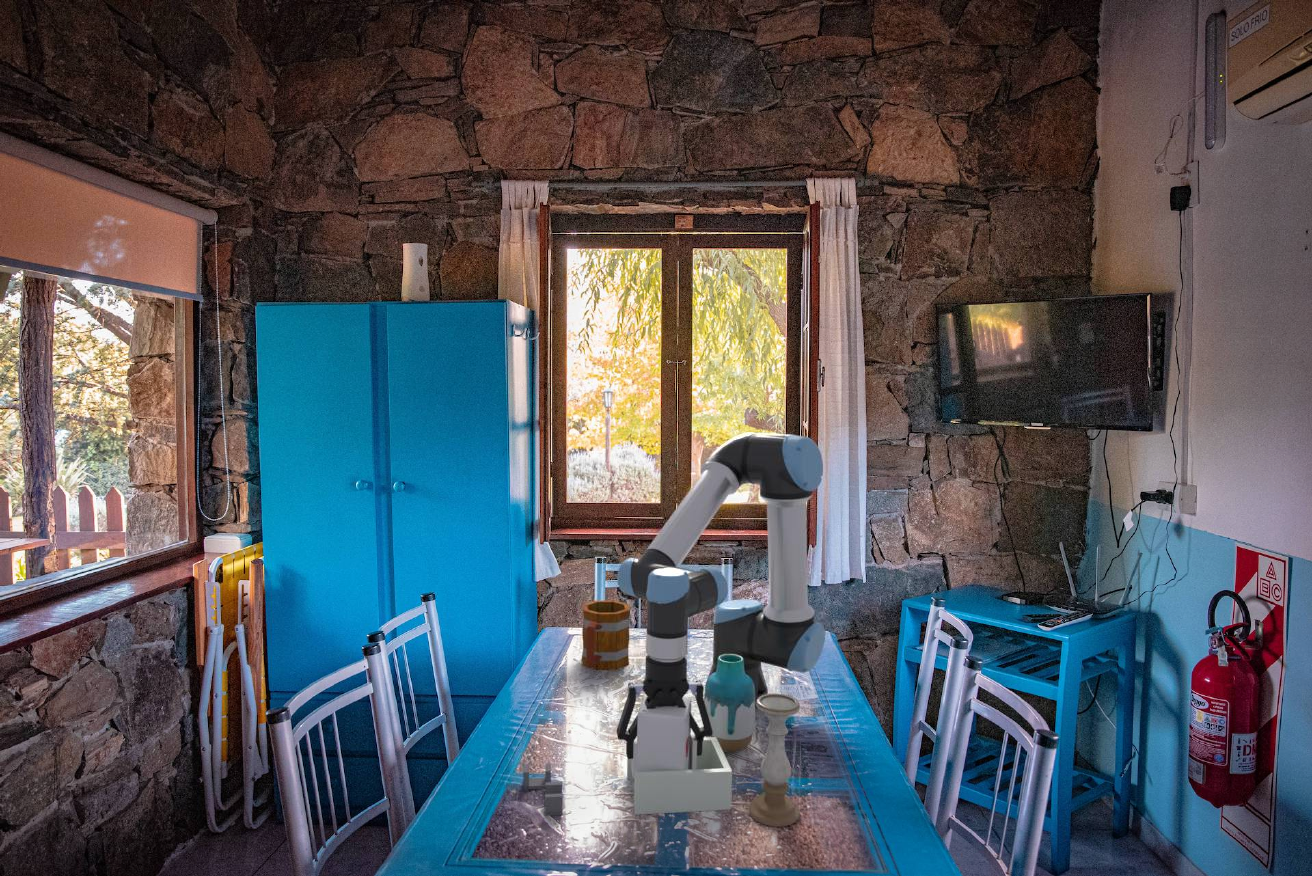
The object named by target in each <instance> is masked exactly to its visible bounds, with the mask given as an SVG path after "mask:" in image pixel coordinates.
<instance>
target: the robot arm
mask: <svg viewBox="0 0 1312 876" xmlns="http://www.w3.org/2000/svg"><path fill="white" fill-rule="evenodd" d="M823 461H824V460H823V456H822V454H821V450H820V449H819V446H818V445H817V444H816V442H815V441H814V440H813V439H812V438H810V437H807V436H801V435H797V434H793V433H792V434H788V433H787V434H786V433H785V434H784V433H767V432H765V433H764V432H762V433H760V432H752V431H751V432H745V433H742V434H739V435H737V436H734V437H732V438H730V439H729V440H727V441H725V443H723V444H722V445H720V446H719V447H717V448H716V449H715V450H714V451H713V452H712V453H711V454H710V455H709V456H708V458H707V459H706V460H705V461H704V462H703V464H702V465H701V467H700V476H699V477H698V479H697V480H696V481H695V483H694V484H693V485H692V487H691V488H690V489H689V490H688V492H687V494H686V495H685V497H683V499H682V500H681V502H680V503H679V505H678V506H677V507H676V509H675V510H674V512H673V513H672V514H671V516H670V517H669V518H668V519H667V521H666V522H665V523H664V525H663V527H661V529H660V530H659V532H658V533H657V534H656V536H655V537H654V539H653V540H652V541H651V543H650V544H649V546H648V547H647V548H646V550H645V551H644V552H643V554H642V555H641V557H640V558H638V557H634V558H633V557H629V558H627V559H625V560H624V561H623V562H622V563H621V564H620V565H619V567H618V571H617V573H616V574H617V577H616V579H617V580H616V581H617V585H618V588H619V589H620V591H621V592H622V593H623V594H625V595H629V596H631V597H634V598H636V599H643V600H646V636H645V637H646V640H645V642H646V643H645V644H646V645H645V654H647V655H646V657H645V678H644V681H643V682H642V683H638V684H635V683H633V682H631V681H630V682H629V683H628V684H627V697H626V700H625V703H624V706H623V709H622V713H621V716H620V718H619V721H618V725H617V728H616V735H617V739H618V740H619V741H625V745H626V747H625V755H626V757H627V758H628V759H632V776H633V778H635V772H636V763H637V723H638V714H637V715H636V716H635V718H634V719H633V721H632V722H631V725H629V723H630V721H631V718H632V715H633V711H634V708H635V705H636V701H637V698H639V697H640V695H641V693H642V692H644V693H645V696H646V695H647V696H648V697H647V698H646V700H645V705H646V708H647V709H655V707H656V706H658V707H664V706H675V705H677V706H678V707H679V708H686V705H685V703H684V701H683V699H682V698H683V697H685V695H686V694H687V693H688V691H689V690H690V693H691V694H692V695H693V696H694V698H695V701H696V705H697V709H698V712H699V714H700V715H699V716H700V718H701V722H702V726H701V727H699V724H698V723H697V721H696V719H695V718H694V715H692V712H691V713H690V712H689V726H690V727H691V732H693V734H692V733H691V734H690V770H696V763H697V756H701V755H702V742H703V740H704V737H706V736H711V735H712V734H713V731H712V727H711V724H710V720H709V717H708V713H707V710H706V706H705V703H704V693H705V686H706V682H707V679H708V677H709V676H710V675H711V674H713V673H715V672H716V670H717V663H718V657H719V656H721V655H723V654H735V655H739V656H741V657H743V659H744V672H745V674H746V675H748V676H749V677H750V678H751V679H752V681H753V683H754V688H755V708H757V706H756V701H757V699H758V697H760V696H762V695H765V694H769V693H768V692H769V690H768V685H767V682H766V679H765V675H764V672H763V668H762V663H763V664H767V665H771V666H774V667H777V668H780V669H785V670H787V671H789V672H798V673H802V674H805V673H807V672H810V671H812V669H813V668H815V666H816V665H817V663H818V661H819V660H820V658H821V655H822V653H823V650H824V646H825V641H826V630H825V627H824V625H823V624H821V622H819V621H816V619H815V614H816V613H815V610H814V608H813V607H812V606H811V605H809V603H808V597H809V596H808V553H807V552H808V547H807V546H808V545H807V502H808V501H809V500H810V499H812V497H813V494H814V490H816V489H818V487H819V486H820V485H821V482H822V476H823V474H824V463H823ZM746 484H752V485H759V497H761V499H762V500H764V501H765V502H766V518H767V519H766V521H767V523H766V525H767V550H768V551H767V556H768V557H767V558H768V559H767V560H768V589H769V590H768V594H769V596H768V597H769V598H768V599H769V601H768V604H767V605H766V606H764V604H763V602H762V601H760V600H756V599H745V598H744V599H734V600H733V599H731V600H728V601H725V600H726V598H727V596H728V591H729V587H728V586H729V585H728V582H727V579H726V577H725V575H724V574H722V572H721V571H719V570H718V569H715V568H711V567H710V568H701V569H699V570H695V569H694V570H693V569H690V568H683V567H680V566H681V565H682V563H683V561H684V560H685V559H686V558H687V556H688V554H689V553H690V552H691V550H692V548H693V547H694V545H695V544H696V543H697V542H698V540H699V538H700V537H701V535H703V533H704V531H705V529H706V528H707V527H708V525H709V524H710V523H711V521H712V520H713V518H714V517H715V515H716V514H717V512H718V511H719V509H720V508H721V506H722V505H723V504H724V502H725V500H726V499H727V497H729V495H733V494H735V493H737V491H738V490H739V488H740V487H741V486H743V485H746ZM714 608H715V609H714ZM713 609H714V617H713V622H712V623H713V639H712V641H713V645H712V665H711V668H710V670H709V673H708V676H707V678H706V681H705V685H704V686H703V683H702V680H698V679H697V680H696V681H695V682H692V681H690V682H688V679H687V678H688V677H687V674H688V673H687V672H688V658H687V655H688V634H689V633H688V629H689V627H688V626H689V625H688V624H689V618H690V617H693V616H695V615H699V614H701V613H704V612H706V611H709V610H713ZM628 727H629V728H628ZM627 758H626V759H627Z"/></svg>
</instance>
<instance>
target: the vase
mask: <svg viewBox="0 0 1312 876" xmlns="http://www.w3.org/2000/svg"><path fill="white" fill-rule="evenodd" d="M708 676H709V675H708ZM708 676H707V678H708V679H707V678H706V681H707V682H706V681H705V684H706V686H705V685H704V693H703V699H704V703H705V706H706V710H707V713H708V717H709V720H710V724H711V727H712V731H713V734H712V735H711V736H706V737H716V738H717V740H718V742H719V744H720V746H721V749H722V751H723V753H729V754H730V753H731V754H732V753H737V752H742V751H744V750H745V749H747V747H749V746H750V744H751V742H752V739H753V737H754V732H755V721H756V707H755V688H754V683H753V681H752V679H751V678H750V677H749V676H748V675H746V674H745V672H744V659H743V657H741V656H739V655H735V654H723V655H721V656H719V657H718V663H717V670H716V672H715V673H713V674H711V675H710V676H709V677H708Z"/></svg>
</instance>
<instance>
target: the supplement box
mask: <svg viewBox="0 0 1312 876" xmlns="http://www.w3.org/2000/svg"><path fill="white" fill-rule="evenodd" d="M647 697H648V696H647V695H646V694H645V696H644V699H643V701H642V702H641V705H640V707H639V709H638V711H637V715H638V723H637V737H636V738H637V763H636V772H656V771H677V770H690V734H692V733H691V732H692V729H691V727H690V726H689V712H690V713H691V714H692V697H689V696H688V697H687V696H684V697H683V698H682V699H683V701H684V703H685V705H686V708H679V707H678V706H677V705H675V706H664V707H658V706H656V707H655V709H647V708H646V705H645V700H646V698H647Z"/></svg>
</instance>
